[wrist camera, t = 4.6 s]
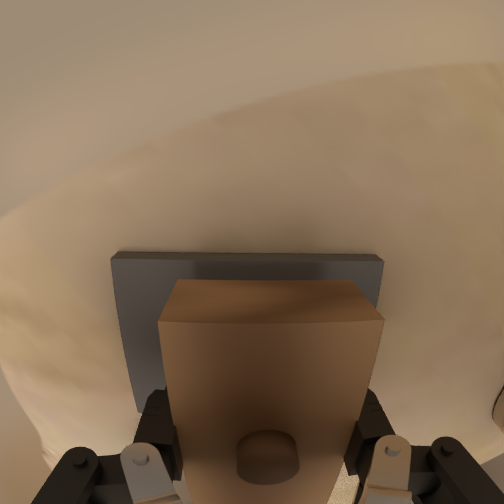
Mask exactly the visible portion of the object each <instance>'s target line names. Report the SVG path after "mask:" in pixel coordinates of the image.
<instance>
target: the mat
mask: <svg viewBox="0 0 504 504" xmlns="http://www.w3.org/2000/svg"><path fill="white" fill-rule="evenodd" d="M383 266H384V261H383V260H382V259H381V258H379V257H378V256H377V255H358V254H260V253H170V252H117V253H116V254H115V255H114V256H113V257H112V258H111V268H112V277H113V285H114V293H115V300H116V307H117V313H118V319H119V325H120V331H121V337H122V342H123V348H124V353H125V358H126V363H127V367H128V372H129V377H130V381H131V385H132V390H133V394H134V398H135V402H136V406H137V410H138V412H139V413H143V410H144V408H145V404H146V401H147V398H148V396H149V395H150V394H151V393H152V392H153V391H154V390H155V389H159V390H165V387H166V379H165V372H164V366H163V359H162V351H161V344H160V336H159V328H158V320H159V317H160V315H161V313H162V311H163V309H164V307H165V305H166V303H167V300H168V298H169V296H170V294H171V292H172V290H173V288H174V286H175V284H176V282H177V280H178V279H196V280H352V281H353V282H354V283H355V285H356V286H357V287H358V288H359V289H360V291H361V292H362V293H363V294H364V295H365V297H366V298H367V299H368V300H369V301H370V303H371V304H372V305H373V306H374V307H375V309H376V306H377V301H378V296H379V290H380V284H381V278H382V272H383Z"/></svg>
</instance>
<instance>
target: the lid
mask: <svg viewBox="0 0 504 504" xmlns="http://www.w3.org/2000/svg"><path fill="white" fill-rule="evenodd" d="M383 325H384V318H383V317H382V316H381V315H380V313H379V312H378V311H377V310H376V309H375V307H374V306H373V305H372V304H371V303H370V301H369V300H368V299H367V298H366V297H365V295H364V294H363V293H362V292H361V291H360V289H359V288H358V287H357V286H356V285H355V283H354V282H353V281H352V280H196V279H178V280H177V282H176V284H175V286H174V288H173V290H172V292H171V294H170V296H169V298H168V300H167V303H166V305H165V307H164V309H163V311H162V313H161V315H160V317H159V320H158V328H159V336H160V344H161V351H162V359H163V366H164V372H165V379H166V385H167V391H168V397H169V403H170V408H171V414H172V419H173V425H175V426H176V429H177V435H178V440H179V445H180V449H181V454H182V459H183V463H184V464H183V471H184V476H185V480H186V484H187V488H188V492H189V496H190V499H191V503H192V504H327V502H328V500H329V497H330V495H331V493H332V490H333V488H334V485H335V483H336V480H337V478H338V475H339V473H340V470H341V468H342V465H343V462H344V459H343V458H344V456H345V453H346V450H347V447H348V444H349V441H350V438H351V435H352V432H353V429H354V426H355V423H356V421H358V419H359V416H360V413H361V410H362V406H363V403H364V400H365V396H366V393H367V389H368V386H369V382H370V378H371V375H372V371H373V367H374V363H375V359H376V355H377V351H378V347H379V343H380V338H381V334H382V329H383Z"/></svg>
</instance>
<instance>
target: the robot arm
mask: <svg viewBox="0 0 504 504" xmlns="http://www.w3.org/2000/svg"><path fill="white" fill-rule="evenodd" d="M493 420H494V422H495V423H496V424H497V426H498V427H499V428H500V429H501V431H502V432H503V433H504V389H503V391H502V393H501V395H500V396H499V398H498V401H497V403H496V405H495V408H494V411H493ZM343 459H344V462H345V465H346V469H347V472H348V475H349V476H351V475H357V474H358V477H359V482H358V484H357V487H356V491H355V495H354V498H353V502H352V504H411V500H412V501H413V503H414V504H504V494H503V493H502V492H501V490H500V489H499V488H498V487H497V486H496V484H495V483H494V482H493V481H492V479H491V478H490V477H489V476H488V475H487V473H486V472H485V471H484V470H483V469H482V468H481V466H480V465H479V464H478V463H477V462H476V460H475V459H474V458H473V457H472V456H471V455H470V453H469V452H468V451H467V450H466V449H465V448H464V447H463V445H462V444H461V443H460V442H459V441H458V440H456V439H454V438H452V437H440V438H438V439H436V440H435V441H434V442H433V443H432V445H431V446H413V445H410V443H409V442H408V441H407V440H406V439H404V438H403V437H401V436H397V435H396V434H395V432H394V430H393V428H392V426H391V424H390V422H389V420H388V418H387V416H386V414H385V413H384V411H383V409H382V407H381V405H380V404H379V401H378V399H377V397H376V395H375V393H374V392H372V391H371V390H370V389H369V388H368V389H367V393H366V396H365V400H364V403H363V406H362V410H361V413H360V416H359V419H358V421H356V423H355V426H354V429H353V432H352V435H351V438H350V441H349V444H348V447H347V450H346V453H345V456H344V458H343ZM183 464H184V463H183V459H182V454H181V449H180V445H179V440H178V435H177V429H176V426H175V425H173V419H172V414H171V408H170V403H169V397H168V391H167V385H166V387H165V390H159V389H155V390H154V391H153V392H152V393H151V394H150V395H149V396H148V398H147V401H146V404H145V408H144V410H143V413H142V416H141V419H140V422H139V425H138V428H137V431H136V435H135V438H134V441H133V443H132V444H131V445H129V446H127V447H126V448H124V450H123V451H122V453H120V454H116V455H108V456H97V455H96V453H95V452H94V451H93V450H91V449H89V448H86V447H75V448H72V449H70V450H68V451H67V452H66V453H65V454H64V455H63V456H62V458H61V459H60V461H59V462H58V464H57V465H56V467H55V468H54V470H53V471H52V473H51V474H50V476H49V477H48V479H47V480H46V482H45V483H44V485H43V486H42V488H41V489H40V491H39V492H38V494H37V495H36V497H35V498H34V500H33V501H32V503H31V504H183V503H182V501H181V499H180V497H179V495H177V493H176V491H175V488H174V486H173V480H174V481H181V477H182V470H183Z"/></svg>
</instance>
